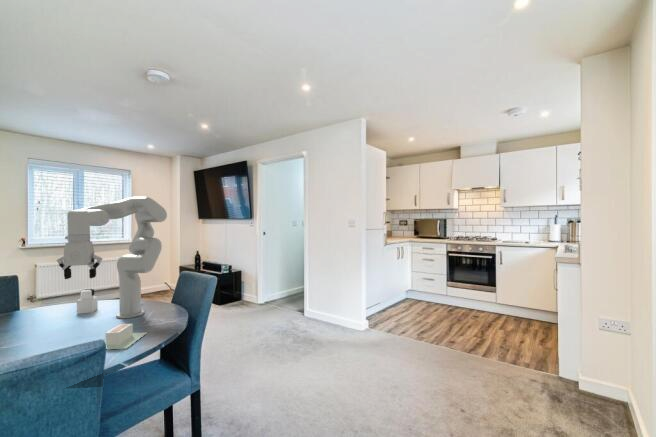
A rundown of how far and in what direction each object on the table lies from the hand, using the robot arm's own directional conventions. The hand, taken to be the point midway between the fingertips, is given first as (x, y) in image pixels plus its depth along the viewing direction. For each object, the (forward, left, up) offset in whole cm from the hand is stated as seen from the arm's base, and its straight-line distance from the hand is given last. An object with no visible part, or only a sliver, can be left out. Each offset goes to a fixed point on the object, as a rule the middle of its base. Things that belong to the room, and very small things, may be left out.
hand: (80, 278), depth 135 cm
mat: (+9, +21, -25) cm, 34 cm away
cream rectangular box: (+9, +21, -24) cm, 33 cm away
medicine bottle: (-37, -21, -25) cm, 50 cm away
